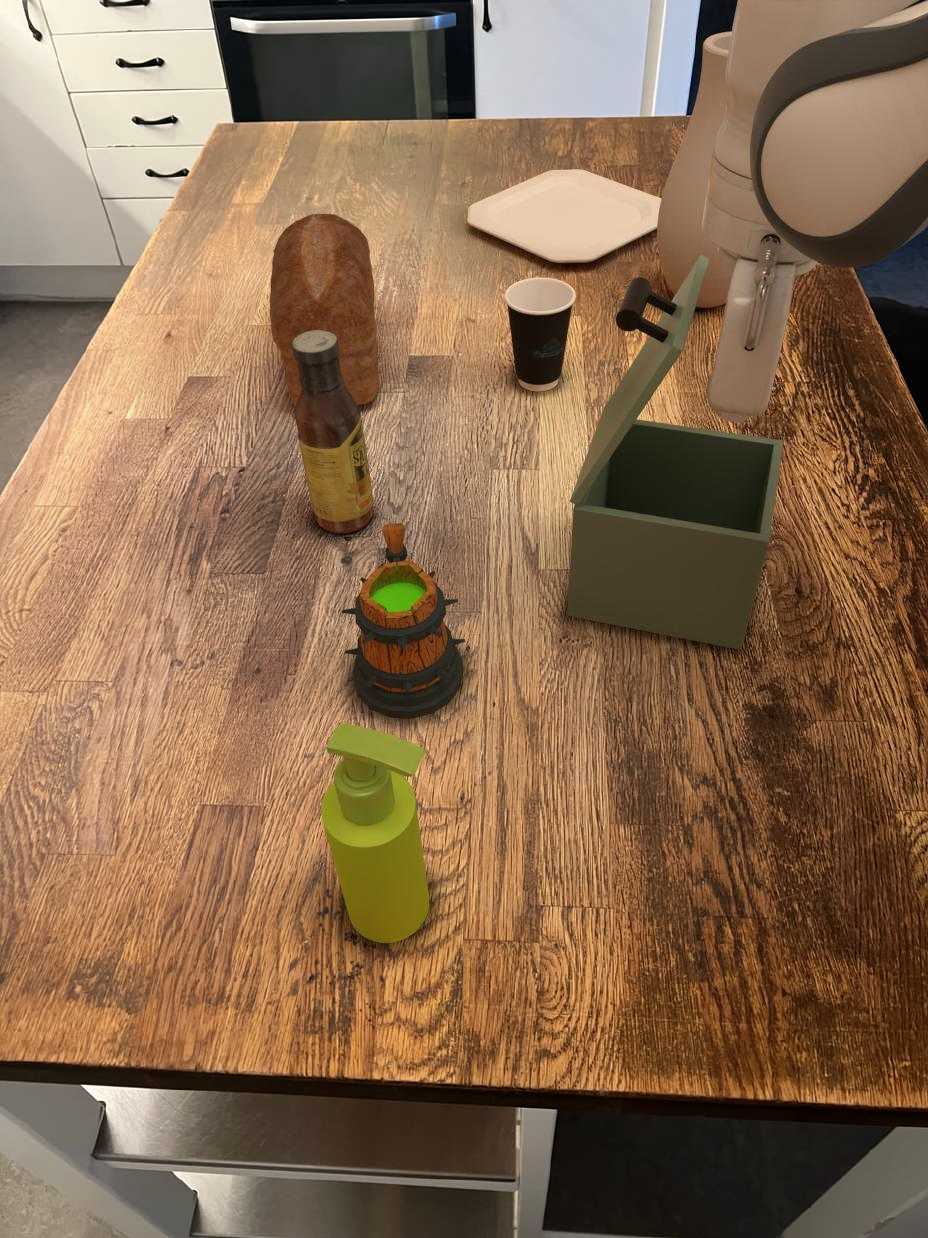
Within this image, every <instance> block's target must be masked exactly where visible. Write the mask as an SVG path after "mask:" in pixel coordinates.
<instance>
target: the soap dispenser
mask: <svg viewBox="0 0 928 1238" xmlns="http://www.w3.org/2000/svg"><path fill="white" fill-rule="evenodd" d="M325 748H326V753H327V754H330V755H335V756H339V757H342V758H341V759H340V760H339V761H338V762H337V764H336V766H335V768H334V771H333V782H332V783H331V784H330V785H329V786H328V788H327V790H326V791H325V793H324V796H323V798H322V801H321V805H320V806H321V807H320V815H321V816H320V817H321V820H322V824H323V827H324V832H325V835H326V839H327V842H328V847H329V849H330V853H331V856H332V860H333V864H334V867H335V871H336V876H337V878H338V882H339V885H340V890H341V893H342V897H343V899H344V903H345V904H344V905H345V907H346V911H347V915H348V918H349V920H350V921H349V922H350V923H351V925H352V927H353V928H354V930H355V931H356V932H357V933H358V934H360V936H362V937H363V938H365V939H367V940H369V941H371V942H375V943H380V944H392V943H397V942H401V941H403V940H405V939H407V938H410V937H411V936H413V935H414V934H415V933H416V932H417V931H418V930H420V928H421V927H422V926H423V924H424V922H425V920H427V916H428V915H429V910H430V903H431V902H430V894H429V893H430V892H429V885H428V878H427V871H426V864H425V857H424V851H423V850H424V849H423V844H422V837H421V830H420V821H419V815H418V807H417V800H416V795H415V792H414V789H413V787H412V785H411V783H410V782H409V780H407V779H406V778H410V777H413V776H414V775H415V774H416V772H417V770H418V768H419V766H420V764H421V762H422V760H423V757H424V755H425V753H426V749H425V748H424V747H422V746H419V745H418V744H415V743H413V742H410V741H408V740H406V739H403V738H401V737H399V736H396V735H392V734H390V733H386V732H383V731H380V730H376V729H372V728H369V727H365V726H359V725H356V724H351V723H346V722H341V721H340V722H339V724H338V725H337V727H336V729H335V731H334V732H333V734H332V736H331V738H330V739H329V741H328V744H327V745H326V747H325Z"/></svg>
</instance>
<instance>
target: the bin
mask: <svg viewBox="0 0 928 1238" xmlns="http://www.w3.org/2000/svg"><path fill="white" fill-rule="evenodd" d="M784 444H785V442H784V440H781V439H776V438H775V439H774V438H769V437H761V436H754V435H747V434H741V433H733V432H726V431H720V430H713V429H707V428H700V427H692V426H687V425H686V426H685V425H680V424H679V425H678V424H671V423H666V422H665V423H664V422H657V421H652V420H645V419H638V418H637V419H636V421H635V422H634V424H633V425H632V427H631V428H630V430H629V431H628V432H627V434H626V435H625V437H624V438H623V440H622V441H621V443H620V444H619V446H618V447H617V449H616V450H615V452H614V453H613V455H612V456H611V458H610V459H609V461H608V462H607V464H606V465H605V467H604V468H603V469H602V471H601V472H600V474H599V475H598V477H597V478H596V480H595V481H594V483H593V484H592V486H591V487H590V489H589V490H588V492H587V493H586V495H585V496H584V498H583V499H582V501H581V502H580V504H579V505H578V506H577V505H575V504H573V505H574V506H573V509H572V524H571V525H572V526H571V543H570V559H569V560H570V561H569V578H568V579H569V580H568V594H567V595H568V597H567V611H566V616H567V617H571V618H576V619H581V620H585V621H586V620H587V621H592V622H595V623H601V624H607V625H611V626H617V627H622V628H627V629H632V630H636V631H642V632H646V633H651V634H656V635H662V636H668V637H672V638H677V639H681V640H687V641H693V642H698V643H704V644H708V645H712V646H717V647H724V648H728V649H732V650H733V649H734V650H738V651H741V650H742V648H743V644H744V640H745V636H746V633H747V629H748V625H749V621H750V617H751V613H752V609H753V606H754V602H755V598H756V595H757V590H758V587H759V583H760V579H761V575H762V571H763V567H764V565H765V559H766V555H767V551H768V547H769V544H770V539H771V532H772V526H773V519H774V511H775V504H776V497H777V490H778V485H779V484H778V483H779V478H780V470H781V463H782V457H783V450H784Z"/></svg>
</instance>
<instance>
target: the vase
mask: <svg viewBox="0 0 928 1238" xmlns="http://www.w3.org/2000/svg"><path fill="white" fill-rule="evenodd" d="M731 34H732V31H725V32H720V33H715V34H712V35H710V36H709V37H707V38H706V39H705V40H704V41H703V43H702V60H701V72H700V78H699V84H698V89H697V93H696V99H695V103H694V107H693V110H692V113H691V116H690V119H689V122H688V125H687V127H686V130H685V133H684V135H683V137H682V141H681V143H680V145H679V148H678V151H677V153H676V155H675V158H674V160H673V162H672V165H671V168H670V171H669V173H668V176H667V179H666V181H665V185H664V188H663V192H662V195H661V203H660V208H659V213H658V223H657V229H656V241H657V243H656V244H657V251H658V256H659V262H660V266H661V270H662V273H663V277H664V279H665V282H666V284H667V286H668V288H669V290H670V291H671V293H672V295H674V296H675V295H676V293H677V292H678V290H679V288H680V287H681V285H682V284H683V282H684V281H685V279H686V277H687V276H688V274H689V273H690V271H691V269H692V268H693V266H694V265H695V263H696V262H697V260H698V258H699V257H700V255H702V256H704V257H706V258H708V259H709V263H708V266H707V270H706V273H705V277H704V280H703V283H702V287H701V290H700V294H699V297H698V300H697V304H696V307H695V308H701V309H702V308H703V309H710V308H715V307H716V308H717V307H719V306H723V305H724V304H725V305H726V301H727V297H728V292H729V288H730V284H731V279H732V275H733V271H734V270H733V269H731V268H729V267H728V266H727V265H725V264H724V263H723V262H722V261H721V260H720V258H719V256H718V253H717V251H718V246H716V245H715V244H714V243H712V242H711V241H710V240H709V239H708V238H707V237H706V235H705V234H704V232H703V229H702V219H703V213H704V206H705V200H706V193H707V188H708V181H709V175H710V168H711V162H712V155H713V148H714V144H715V140H716V137H717V135H718V132H719V130H720V128H721V126H722V123H723V121H724V118H725V114H726V109H727V98H728V93H727V84H726V65H727V58H728V52H729V46H730V40H731Z"/></svg>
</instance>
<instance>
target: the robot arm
mask: <svg viewBox="0 0 928 1238" xmlns="http://www.w3.org/2000/svg"><path fill="white" fill-rule="evenodd" d="M731 32H732V34H731V40H730V46H729V52H728V58H727V65H726V84H727V93H728V98H727V109H726V114H725V118H724V121H723V123H722V126H721V128H720V130H719V132H718V135H717V137H716V140H715V144H714V148H713V155H712V162H711V168H710V175H709V181H708V188H707V193H706V200H705V206H704V213H703V219H702V229H703V232H704V234H705V235H706V237H707V238H708V239H709V240H710V241H711V242H712V243H714V244H715V245H716V246H718V251H717V253H718V256H719V258H720V260H721V261H722V262H723V263H724V264H725V265H727V266H728V267H729V268H731V269H733V270H734V271H733V275H732V279H731V284H730V288H729V292H728V297H727V301H726V303H725V306H724V312H723V316H722V321H721V327H720V331H719V337H718V342H717V347H716V353H715V357H714V363H713V368H712V372H713V373H712V372H711V373H712V378H711V383H710V389H709V397H708V399H709V403H708V406H709V408H710V409H711V410H712V409H714V410H717V411H721V416H720V417H721V419H722V420H723V421H725V422H731V423H732V422H733V423H739V424H740V423H744V422H746V420H747V419H748V418H747V415H749V416H752V417H758V416H761V415H764V413H765V411H766V410H767V408H768V405H769V403H770V400H771V394H772V391H773V387H774V383H775V378H776V374H777V370H778V366H779V360H780V356H781V352H782V348H783V343H784V338H785V334H786V330H787V326H788V320H789V315H790V310H791V305H792V298H793V290H794V284H795V278H796V277H799V276H802V275H804V274H806V273H809V272H810V271H812V270H813V269H814V268H816V266H817V265H818V263H820V264H823V265H826V266H830V267H834V268H859V267H865V266H868V265H871V264H874V263H876V262H880V261H882V260H883V259H885V258H887V257H889V256H890V255H892V254H893V253H894V252H896V251H897V250H899V249H900V248H902V247H903V246H904V245H906V244H907V243H909V242H910V241H911V240H913V239H914V238H915V237H917V236H918V235H919V234H920V233H922V232H924V230H925V229H926V228H927V227H928V0H737V4H736V8H735V13H734V18H733V23H732V29H731Z"/></svg>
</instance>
